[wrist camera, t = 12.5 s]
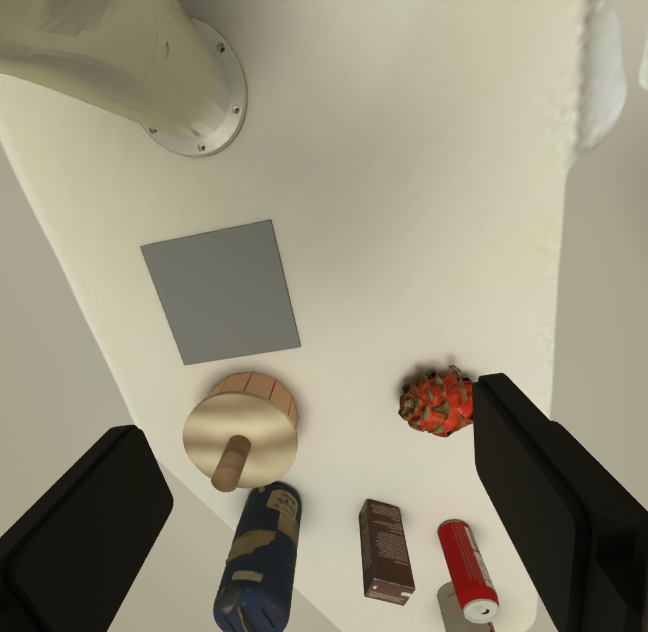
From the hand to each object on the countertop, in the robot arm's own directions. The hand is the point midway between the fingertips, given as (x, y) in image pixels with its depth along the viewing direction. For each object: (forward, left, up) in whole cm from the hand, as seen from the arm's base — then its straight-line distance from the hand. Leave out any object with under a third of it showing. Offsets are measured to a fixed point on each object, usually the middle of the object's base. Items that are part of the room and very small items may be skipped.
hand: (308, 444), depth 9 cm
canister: (+39, -17, -34) cm, 54 cm away
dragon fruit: (+21, +11, -34) cm, 41 cm away
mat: (+3, -15, -33) cm, 37 cm away
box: (+44, 0, -34) cm, 55 cm away
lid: (+21, -16, -27) cm, 38 cm away
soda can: (+50, +12, -34) cm, 61 cm away
